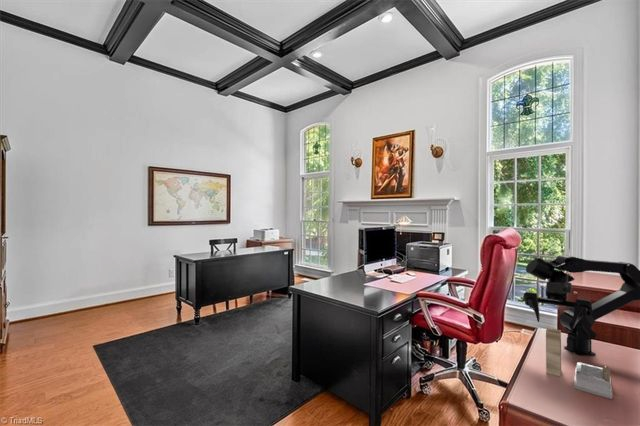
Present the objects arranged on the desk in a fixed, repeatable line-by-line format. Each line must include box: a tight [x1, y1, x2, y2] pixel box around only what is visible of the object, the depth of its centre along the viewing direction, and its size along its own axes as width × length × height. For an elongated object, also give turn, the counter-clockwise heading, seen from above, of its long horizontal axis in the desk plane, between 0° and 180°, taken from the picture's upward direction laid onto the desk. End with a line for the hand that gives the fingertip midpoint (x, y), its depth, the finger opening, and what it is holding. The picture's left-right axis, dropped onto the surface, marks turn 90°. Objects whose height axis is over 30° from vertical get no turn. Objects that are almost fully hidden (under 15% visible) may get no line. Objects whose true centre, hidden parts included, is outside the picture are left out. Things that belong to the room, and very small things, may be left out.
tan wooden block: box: [545, 327, 562, 377], centre depth 97 cm, size 4×4×13 cm
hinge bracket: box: [573, 361, 613, 400], centre depth 90 cm, size 14×8×5 cm, turn 138°
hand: (554, 324), depth 102 cm, fingers open, 9 cm apart
